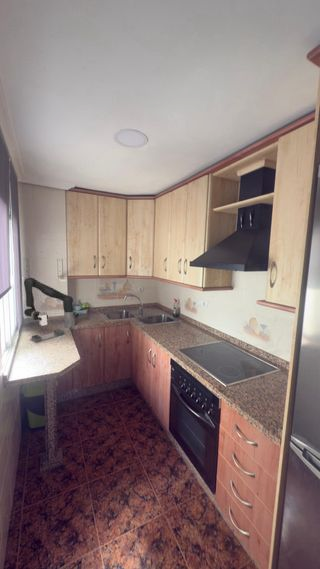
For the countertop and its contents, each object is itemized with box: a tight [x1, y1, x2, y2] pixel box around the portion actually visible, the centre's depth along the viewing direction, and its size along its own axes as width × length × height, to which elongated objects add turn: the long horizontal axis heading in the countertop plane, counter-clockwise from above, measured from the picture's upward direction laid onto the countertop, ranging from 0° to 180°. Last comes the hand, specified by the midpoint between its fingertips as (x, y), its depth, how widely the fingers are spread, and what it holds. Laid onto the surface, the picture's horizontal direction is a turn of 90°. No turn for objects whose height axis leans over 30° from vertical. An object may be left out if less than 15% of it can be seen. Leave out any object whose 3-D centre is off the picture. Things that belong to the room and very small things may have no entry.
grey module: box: [38, 311, 48, 327], centre depth 226 cm, size 5×5×12 cm
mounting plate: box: [29, 328, 67, 346], centre depth 223 cm, size 28×14×4 cm, turn 140°
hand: (44, 318), depth 224 cm, fingers closed on grey module, 5 cm apart
